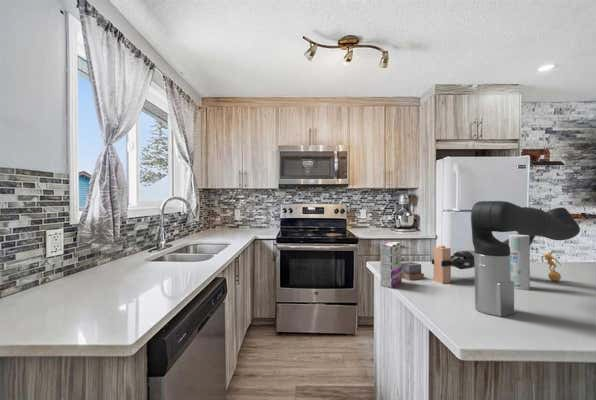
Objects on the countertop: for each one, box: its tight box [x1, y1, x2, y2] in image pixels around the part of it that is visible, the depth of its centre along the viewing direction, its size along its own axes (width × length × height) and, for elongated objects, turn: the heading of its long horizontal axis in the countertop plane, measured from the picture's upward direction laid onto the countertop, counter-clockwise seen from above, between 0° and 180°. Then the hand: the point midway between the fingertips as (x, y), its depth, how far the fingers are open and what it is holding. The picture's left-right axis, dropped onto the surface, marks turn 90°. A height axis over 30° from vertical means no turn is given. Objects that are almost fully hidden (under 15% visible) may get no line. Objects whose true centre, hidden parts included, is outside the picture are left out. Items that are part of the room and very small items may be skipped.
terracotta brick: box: [433, 245, 452, 284], centre depth 127 cm, size 4×4×15 cm
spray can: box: [508, 234, 531, 291], centre depth 117 cm, size 6×6×20 cm
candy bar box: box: [379, 241, 403, 289], centre depth 123 cm, size 11×5×16 cm, turn 143°
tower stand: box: [401, 261, 425, 281], centre depth 134 cm, size 8×8×6 cm
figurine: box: [540, 251, 562, 282], centre depth 127 cm, size 8×6×12 cm
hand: (437, 262), depth 126 cm, fingers closed on terracotta brick, 4 cm apart
